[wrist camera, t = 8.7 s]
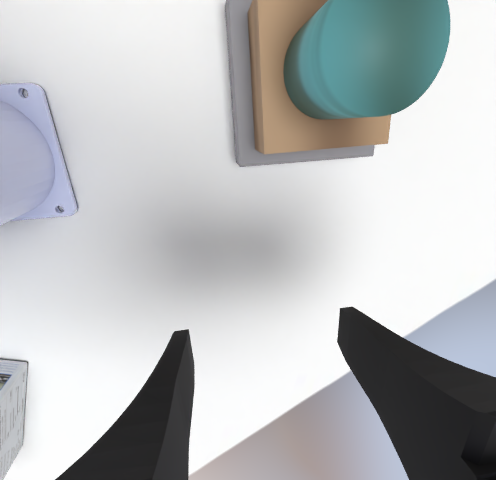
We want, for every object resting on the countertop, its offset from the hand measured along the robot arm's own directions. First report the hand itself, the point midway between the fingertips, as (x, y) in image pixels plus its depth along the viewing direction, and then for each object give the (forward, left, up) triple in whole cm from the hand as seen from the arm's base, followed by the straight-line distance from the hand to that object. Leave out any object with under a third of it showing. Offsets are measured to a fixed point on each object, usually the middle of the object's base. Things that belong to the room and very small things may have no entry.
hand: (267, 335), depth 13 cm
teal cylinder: (+4, +11, -5) cm, 13 cm away
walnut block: (+5, +11, -8) cm, 15 cm away
